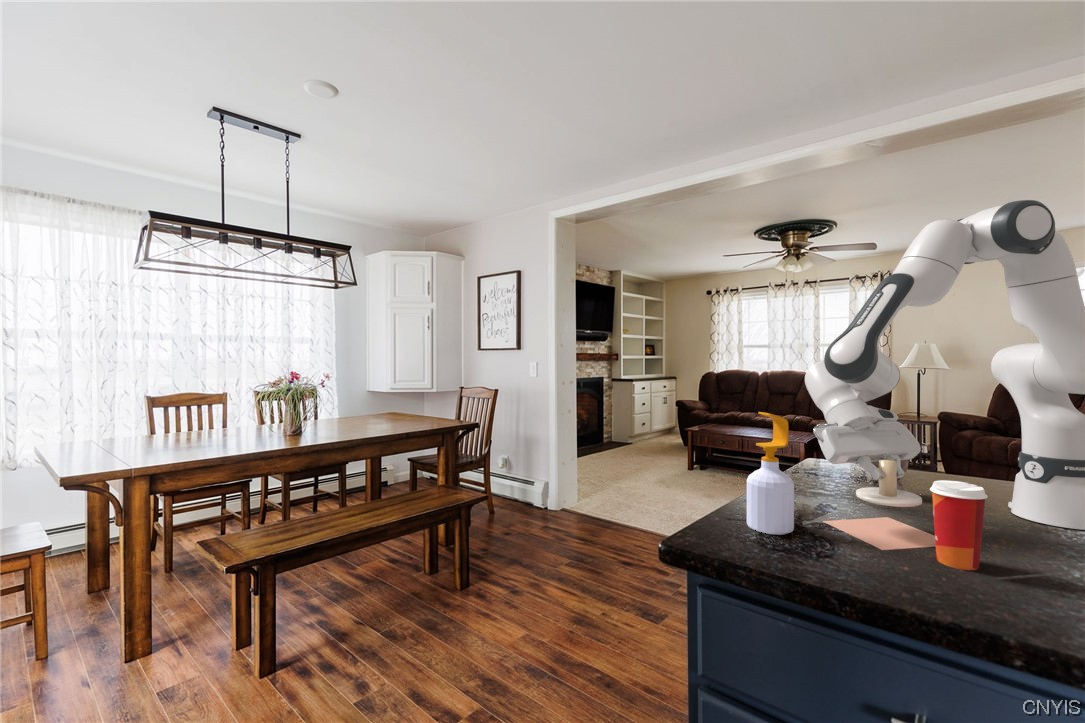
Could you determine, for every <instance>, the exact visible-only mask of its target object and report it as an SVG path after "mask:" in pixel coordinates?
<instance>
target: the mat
mask: <svg viewBox="0 0 1085 723" xmlns="http://www.w3.org/2000/svg"><path fill="white" fill-rule="evenodd" d="M822 522H823V523H825V524H828V525H829V526H831V527H833V528H835V529H837V530H840V531H842V532H844V533H846V534H848V535H850V536H851V537H852V536H853V537H854V538H856V539H859V540H861V541H863V542H865V543H867V544H869V545H872V546H874V548H875V547H876V548H877V549H879V550H880V551H881V550H882V551H889V550H890V551H891V550H903V549H904V550H905V549H906V550H907V549H919V548H921V549H922V548H933V547H934V548H936V544H935V534H934V535H933V534H931V533H929V532H926V531H924V530H921V529H919V528H916V527H914V526H911V525H909V524H906V523H903V522H901V521H898V520H896V519H894V518H891V517H888V516H885V517H870V518H868V517H867V518H852V519H837V520H836V519H833V520H822Z"/></svg>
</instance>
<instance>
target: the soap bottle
mask: <svg viewBox="0 0 1085 723" xmlns="http://www.w3.org/2000/svg"><path fill="white" fill-rule="evenodd" d="M758 415H762V416H765V417H768V418H770V419H771V421H772V426H773V427H772V428H773V429H772V430H773V432H772V433H773V434H772V436H773V437H772V441H769V442H756V443H755V446H758V447H760V448H762V450H763V451H764V452H765V456H761V460H760V461H761V462H760V463H761V466H760V468H759V469H756V470H754V471H753V472H752V473H750V474H749V475H748V476H747V479H746V524H747V526H748V528H750V529H751V530H753V531H755V530H756V532H758V533H761V532H762V534H765V533H766V535H773V536H774V535H776V536H782V535H786V534H789V533H793V531H794V529H795V484H794V481H793V480H792V478H791V477H790V476H789V475H788V474H787V473H785V472H783V471H782V470H780V467H779V466H780V465H779V464H780V463H779V462H780V461H779V460H780V459H779V458H778V457H775V452H777V451H778V449H781V448H782V449H783V448H786V447H787V446H788V444H789V421H788V419H787V418H785V417H782V416H779V415H776V414H773V413H768V412H763V411H762V412H761V411H758Z"/></svg>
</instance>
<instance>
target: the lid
mask: <svg viewBox="0 0 1085 723" xmlns="http://www.w3.org/2000/svg"><path fill="white" fill-rule="evenodd" d="M879 468H881V469H882V470H883V472H884V473H885V477H884V478H883V479H879V487H873V486H872V487H870V486H869V487H861V488H858V489H856V490H855V496H856V497H857V499H859V500H862V501H864V502H867V503H871V504H875V505H880V506H885V507H886V506H887V507H888V506H889V507H895V508H896V507H897V508H914V507H918V506H921V505H923V504H922V503H923V498H922V497H921V496H920V495H919V494H916V493H914V492H909V491H907V490H905V491H902V490H897V462H896V461H895V460H891V459H879Z"/></svg>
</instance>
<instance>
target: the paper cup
mask: <svg viewBox="0 0 1085 723" xmlns="http://www.w3.org/2000/svg"><path fill="white" fill-rule="evenodd" d="M929 491H930V492H931V495H932V513H933V525H934V528H933V529H934V536H935V544H936V547H935V554H936V556H935V557H936V561H937V562H939V563H940V564H942V565H944V566H947V567H950V568H954V569H959V570H963V571H976V570H979V569H980V561H981V551H982V540H983V530H984V529H983V527H984V516H985V515H984V514H985V502H986V499H988V495H987V494H986V492H985V489H984V487H982V486H979V485H976V484H974V483H973V484H972V483H971V484H970V483H969V482H963V481H958V480H946V479H945V480H942V479H941V480H935V481H933V482H932V486H931V487H930V488H929Z"/></svg>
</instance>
